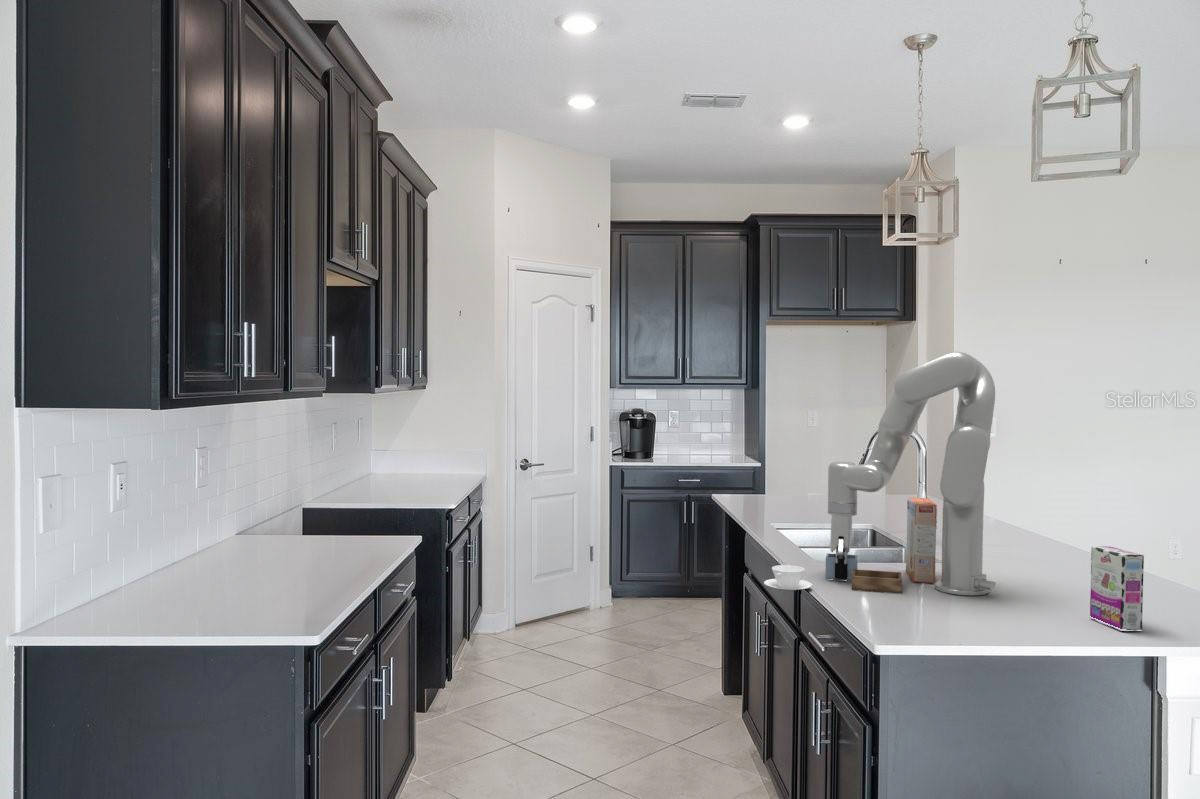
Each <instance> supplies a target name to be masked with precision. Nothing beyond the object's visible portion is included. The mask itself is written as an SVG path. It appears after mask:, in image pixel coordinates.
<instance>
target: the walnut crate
mask: <svg viewBox="0 0 1200 799" xmlns="http://www.w3.org/2000/svg"><path fill="white" fill-rule="evenodd" d="M902 583H903V577H902V572H900V571H888V570H887V571H884V570H869V569H853V572H852V581H851V591H857V590H861V591H860V592H871V591H873V593H885V592H886V593H885V594H898V593H902V592H903V584H902Z"/></svg>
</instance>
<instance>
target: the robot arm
mask: <svg viewBox="0 0 1200 799" xmlns="http://www.w3.org/2000/svg"><path fill="white" fill-rule="evenodd" d="M893 388H894V390H893V392H892V395H891V397H890V399H889V401H888V403H887V406H886V407H885V410H884V411H883V414H882V416H881V418H880V420H879V424H878V426H877V427H878V431H877V438H876V440H875V443H874V445H873V448H872V450H871V452H870V454H869V455H868V456H869V457H868V459H867V461H866V463H863V464H862V463H861V464H856V463H854V462H851V461H850V462H849V461H833V462H830V463H829V464H828V477H827V514H828V515H831V518H830V519H831V520H830V546H829V547H830V552H832V553H833V552H834V551H835V554H836V563H835V578H836V579H847V564H846V561H847V555H849V554H848V553H849V552H850V549H851V545H852V536H853V516H857V515H858V491H861V492H865V493H876V492H879V491H880V490H882V488H884V487H885V486H887V485H888V483H889V482H890V481H891V478H892V476H893V474H894V472H895V470H896V468H897V466H898V464H899V462H900V460H901V458H902V455H903V453H904V451H905V448H906V446H908V443H909V442H910V439H911V436H912V434H913V433H914V430H915V428H916V426H917V423H918V421H919V419H920V417H921V415H922V413H923V412H924V409H925V407H926V405H927V404H928V400H929V399H931V398H934V397H937V396H939V395H941V394H943V393H946V392H949V391H952V390H954V389H956V388H957V390H958V400H957V407H956V415H955V420H954V426H953V430H951V431H950V433H949V435H948V438H947V441H946V446H945V451H944V452H945V453H944V459H943V465H942V471H941V478H940V484H939V489H940V493H941V496H942V498H943V499H942V502H943V503H942V530H941V533H942V534H941V535H942V536H941V537H942V538H941V543H942V544H941V546H942V547H941V580H940V581H936V582H935V583H934V588H935V590H937V591H940V592H942V593H947V594H951V595H957V596H984V595H987V594H988V593H989V592H990V591H994V590H995V588H996V585H997V584H996V581H992V580H988V579H987V574H986V573H983V553H984V552H983V550H984V549H983V547H984V545H983V542H984V535H983V533H984V507H985V480H984V479H985V474H986V469H987V461H988V458H989V457H988V456H989V451H990V448H991V432H992V427H993V426H992V425H993V418H994V409H995V404H996V403H995V401H996V387H995V382H994V379H993V376H992V375H991V373H990V371H989V369H988V368H987V367H986V366H985V365H984V364H983V363H982V362H980V361H979V360H978V359H976V358H975V357H974V356H972V355H971V354H969V353H966V352H963V351H953V352H949V353H946V354H944V355H942V356H940V357H937V358H934V359H932V360H929V361H928V362H925V363H923V364H921V365H918V366H915V367H913V368H910V369H907V370H905V371H903V372H901V373H900V374H899V375H898V376H897V377H896V379H895V380H894V386H893Z"/></svg>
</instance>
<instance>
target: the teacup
mask: <svg viewBox="0 0 1200 799" xmlns="http://www.w3.org/2000/svg"><path fill="white" fill-rule="evenodd" d="M771 570H772V573H773V575H774V577H775V578H770V579H766V580H765V581H763V584H764V585H765V586H768V587H770V588H775V589H778V590H780V591H783V592H784V591H785V592H795V591H797V590H805V589H810V588H811V587H813V584H812V583H811V582H809V581H807V580H803V579H802V577H803V575H804V572H805V570H806V569H805V568H804V567H802V566H800V565H799V566H798V565H791V564H780V565H779V564H778V565H774V566H772V567H771Z"/></svg>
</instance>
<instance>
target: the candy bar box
mask: <svg viewBox="0 0 1200 799" xmlns="http://www.w3.org/2000/svg"><path fill="white" fill-rule="evenodd" d="M1144 558H1145V555H1143V554H1141V553H1136V552H1132V551H1129V550H1125V549H1121V548H1117V547H1113V546H1106V545H1105V546H1103V545H1102V546H1101V545H1099V546H1091V558H1090V561H1091V562H1090V598H1089V599H1090V604H1089V605H1090V606H1089V607H1090V608H1089V617H1090V616H1091V617H1093V618H1096V619H1098V620H1101V621H1103V622H1105V623H1108V624H1110V625H1113V626H1115V627H1118V628H1120V629H1126V630H1142V631H1143V604H1144V602H1143V601H1144V598H1143V596H1144V595H1143V593H1144V571H1145V570H1144V567H1145V565H1144V562H1145V560H1144Z"/></svg>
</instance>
